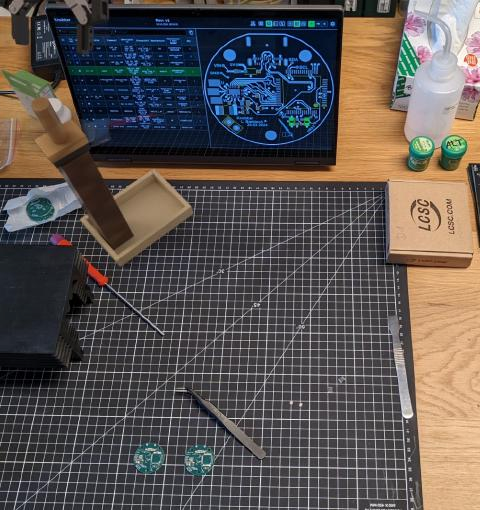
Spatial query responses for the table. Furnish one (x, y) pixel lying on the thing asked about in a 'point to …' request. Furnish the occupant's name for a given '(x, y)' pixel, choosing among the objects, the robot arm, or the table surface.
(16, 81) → the ink box
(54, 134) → the wooden stamp
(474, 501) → the table surface
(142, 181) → the tray
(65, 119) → the supplement bottle
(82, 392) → the table surface
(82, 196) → the dark brown wooden bar
